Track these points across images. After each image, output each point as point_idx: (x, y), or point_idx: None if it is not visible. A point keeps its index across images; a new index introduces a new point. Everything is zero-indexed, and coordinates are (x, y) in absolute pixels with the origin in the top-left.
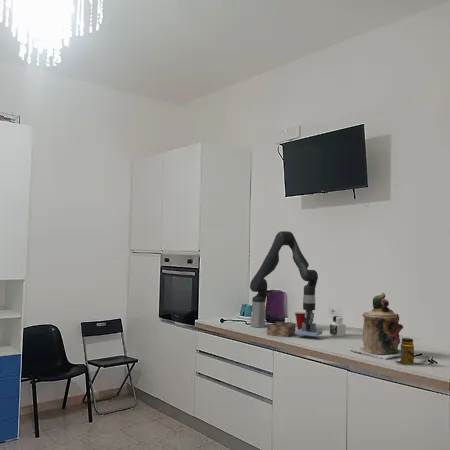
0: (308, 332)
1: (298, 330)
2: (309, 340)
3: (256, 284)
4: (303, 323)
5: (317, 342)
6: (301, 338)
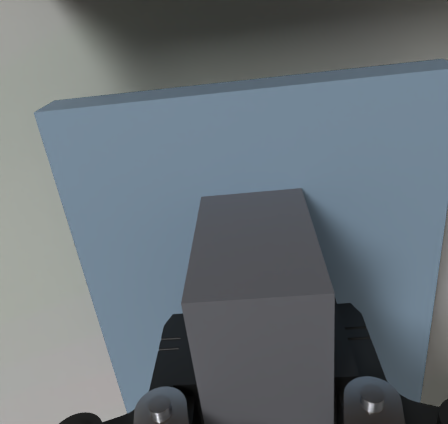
0: (147, 332)
1: (219, 114)
2: (66, 320)
3: None
4: (191, 333)
5: (34, 409)
6: None
